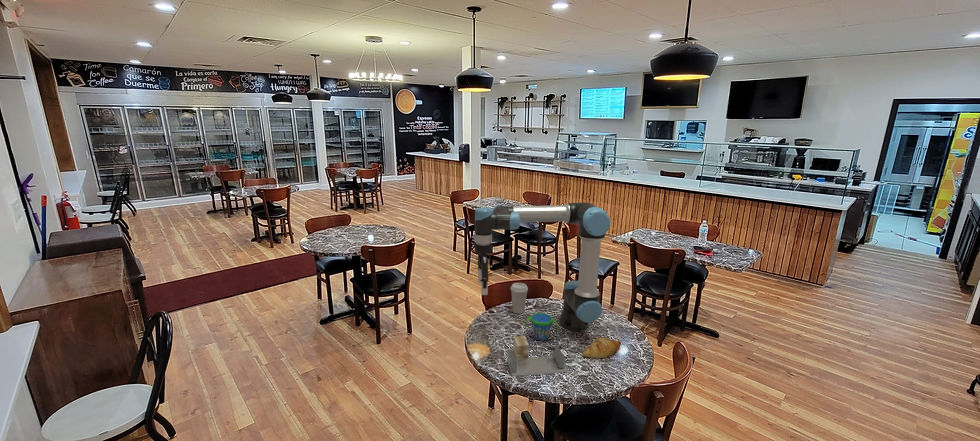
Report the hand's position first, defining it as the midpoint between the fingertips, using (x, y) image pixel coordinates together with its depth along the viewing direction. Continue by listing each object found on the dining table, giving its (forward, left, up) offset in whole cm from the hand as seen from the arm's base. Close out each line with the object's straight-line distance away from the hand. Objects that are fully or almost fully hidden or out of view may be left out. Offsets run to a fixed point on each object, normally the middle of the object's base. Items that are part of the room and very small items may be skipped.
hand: (482, 288), depth 182 cm
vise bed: (-21, +21, -28) cm, 41 cm away
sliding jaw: (-30, +20, -26) cm, 44 cm away
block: (-16, +11, -28) cm, 34 cm away
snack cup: (-29, -3, -28) cm, 41 cm away
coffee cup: (-24, -31, -28) cm, 49 cm away
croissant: (-53, +13, -28) cm, 62 cm away
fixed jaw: (-10, +21, -26) cm, 35 cm away
